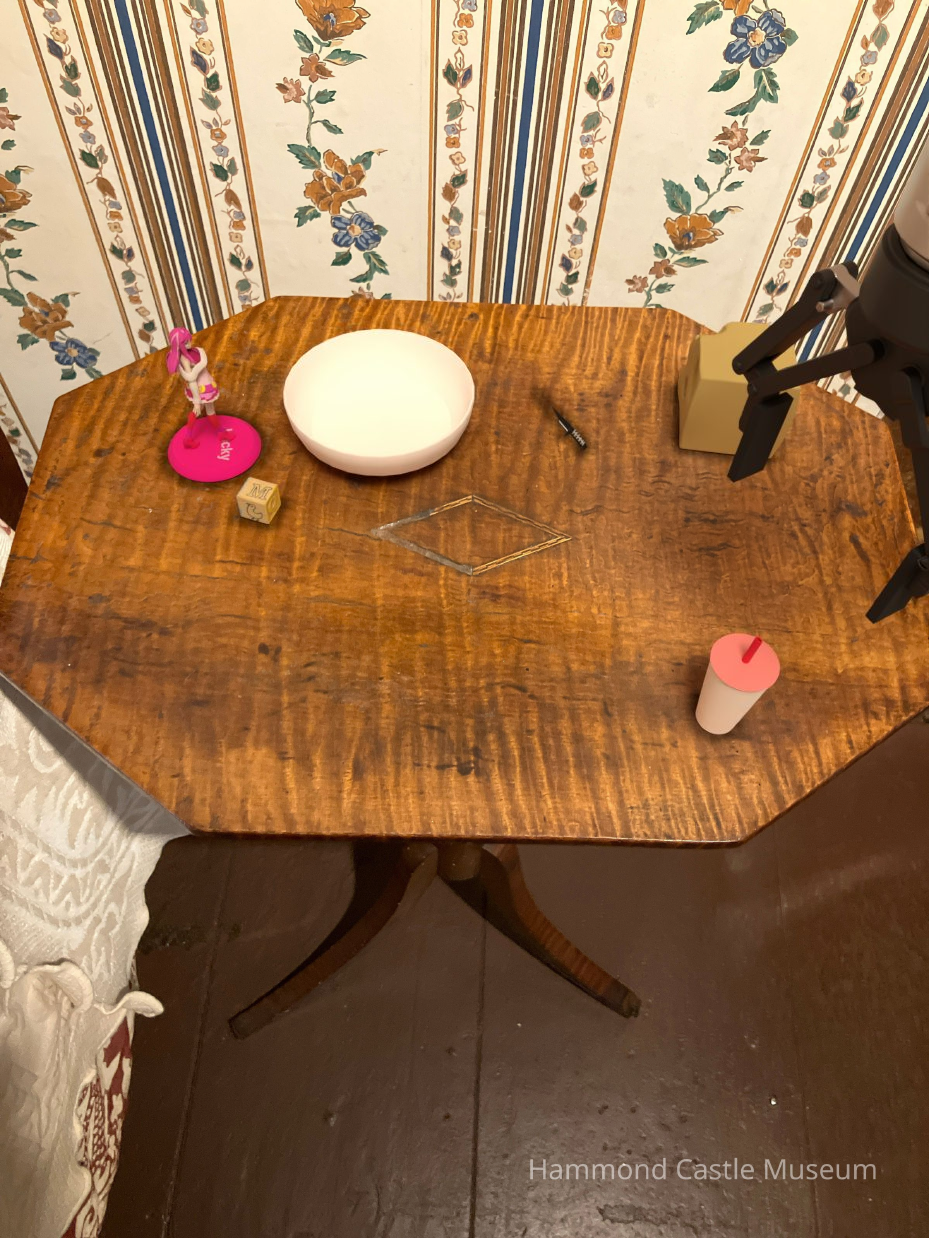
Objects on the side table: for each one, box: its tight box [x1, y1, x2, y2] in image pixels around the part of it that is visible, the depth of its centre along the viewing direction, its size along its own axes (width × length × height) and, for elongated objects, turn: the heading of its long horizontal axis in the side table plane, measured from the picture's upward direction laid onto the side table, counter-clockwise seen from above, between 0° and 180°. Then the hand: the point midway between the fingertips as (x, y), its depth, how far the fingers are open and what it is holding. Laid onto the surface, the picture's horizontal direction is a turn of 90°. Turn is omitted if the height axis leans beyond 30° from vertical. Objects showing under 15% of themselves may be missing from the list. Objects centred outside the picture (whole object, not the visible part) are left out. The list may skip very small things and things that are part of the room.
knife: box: [551, 406, 588, 452], centre depth 96 cm, size 10×2×1 cm, turn 26°
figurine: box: [165, 326, 262, 483], centre depth 86 cm, size 10×10×15 cm
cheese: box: [677, 321, 802, 459], centre depth 92 cm, size 10×11×10 cm
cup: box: [695, 632, 781, 735], centre depth 71 cm, size 5×5×12 cm
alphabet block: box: [235, 476, 282, 525], centre depth 86 cm, size 3×3×3 cm
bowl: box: [282, 328, 476, 477], centre depth 92 cm, size 20×20×6 cm
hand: (810, 538), depth 58 cm, fingers open, 13 cm apart
